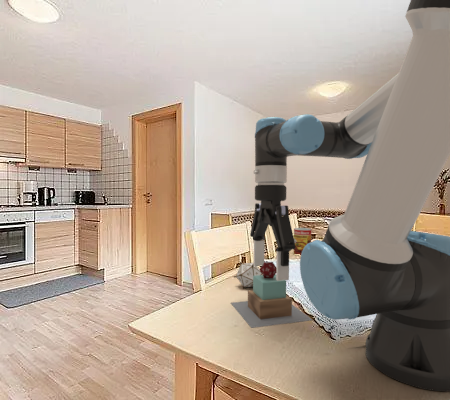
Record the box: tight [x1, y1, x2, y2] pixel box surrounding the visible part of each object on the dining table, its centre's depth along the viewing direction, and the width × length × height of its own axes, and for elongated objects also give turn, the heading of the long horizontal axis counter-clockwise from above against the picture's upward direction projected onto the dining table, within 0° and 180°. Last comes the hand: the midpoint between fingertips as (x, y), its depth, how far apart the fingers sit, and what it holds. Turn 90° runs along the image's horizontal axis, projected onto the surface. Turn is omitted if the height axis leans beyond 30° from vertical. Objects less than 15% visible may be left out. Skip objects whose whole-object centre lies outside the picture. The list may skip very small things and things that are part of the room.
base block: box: [247, 289, 293, 319], centre depth 75 cm, size 8×8×4 cm
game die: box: [233, 261, 262, 290], centre depth 93 cm, size 9×8×10 cm
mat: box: [230, 300, 313, 329], centre depth 75 cm, size 15×15×1 cm
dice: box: [259, 261, 276, 278], centre depth 75 cm, size 4×4×4 cm
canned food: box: [293, 227, 312, 255], centre depth 142 cm, size 8×8×12 cm
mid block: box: [252, 274, 287, 300], centre depth 75 cm, size 6×6×4 cm
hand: (269, 272), depth 74 cm, fingers open, 13 cm apart
